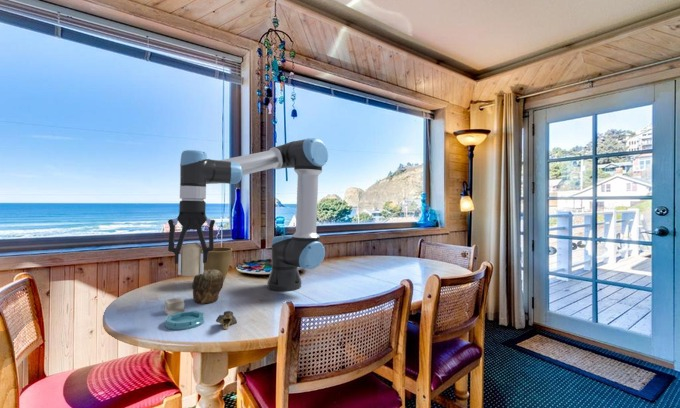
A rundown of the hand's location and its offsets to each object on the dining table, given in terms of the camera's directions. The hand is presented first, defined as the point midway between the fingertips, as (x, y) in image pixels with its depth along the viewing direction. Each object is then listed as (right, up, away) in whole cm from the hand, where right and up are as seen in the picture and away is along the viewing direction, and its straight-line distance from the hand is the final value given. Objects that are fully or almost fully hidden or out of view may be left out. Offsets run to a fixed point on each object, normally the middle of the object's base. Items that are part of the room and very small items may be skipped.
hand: (191, 273), depth 103 cm
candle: (0, -1, 0) cm, 1 cm away
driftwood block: (-10, -15, +9) cm, 21 cm away
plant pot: (-10, -15, +46) cm, 49 cm away
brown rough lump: (-4, -15, +22) cm, 27 cm away
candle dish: (-2, -16, 0) cm, 16 cm away
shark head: (+12, -16, -3) cm, 20 cm away
